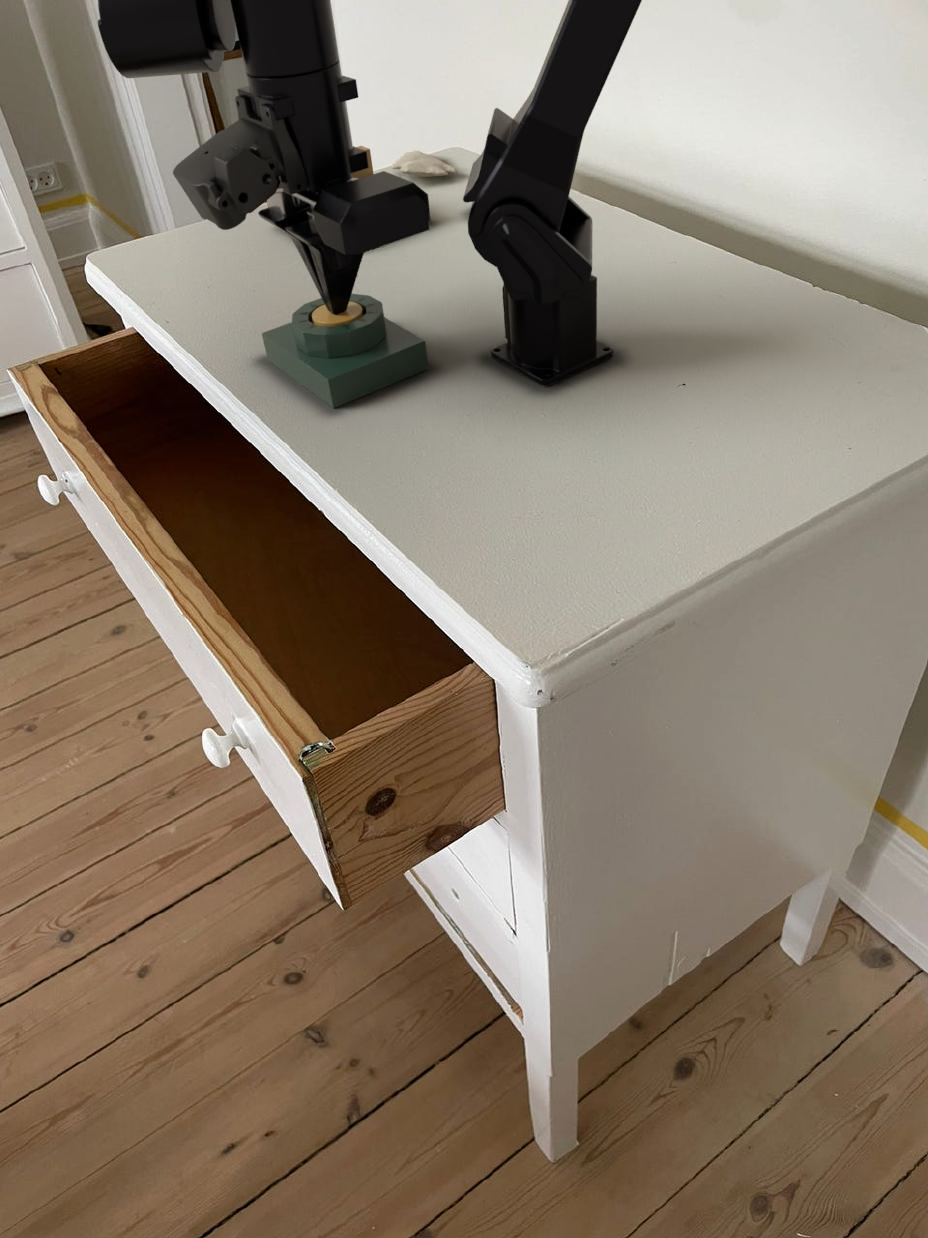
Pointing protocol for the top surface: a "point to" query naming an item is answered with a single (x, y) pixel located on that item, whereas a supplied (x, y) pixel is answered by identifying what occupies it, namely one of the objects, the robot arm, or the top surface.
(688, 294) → the top surface
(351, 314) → the release button
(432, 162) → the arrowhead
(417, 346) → the box
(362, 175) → the red-tipped wooden block
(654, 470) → the top surface
